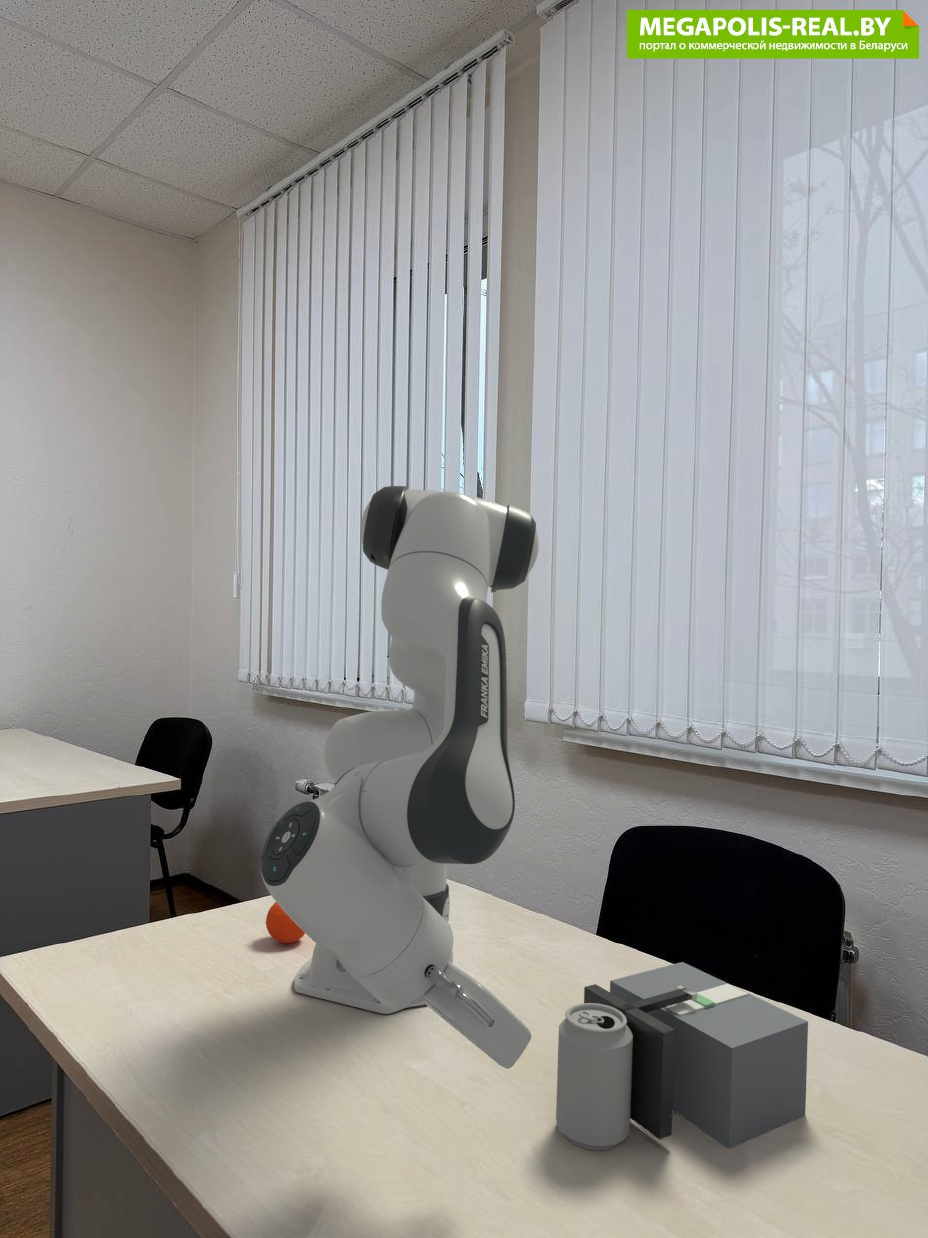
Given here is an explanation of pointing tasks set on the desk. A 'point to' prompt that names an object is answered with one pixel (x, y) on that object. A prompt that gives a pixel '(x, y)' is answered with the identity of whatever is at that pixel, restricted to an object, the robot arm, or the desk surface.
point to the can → (594, 1076)
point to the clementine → (282, 926)
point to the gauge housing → (727, 1053)
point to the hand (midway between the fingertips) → (490, 1035)
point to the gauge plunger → (648, 1055)
